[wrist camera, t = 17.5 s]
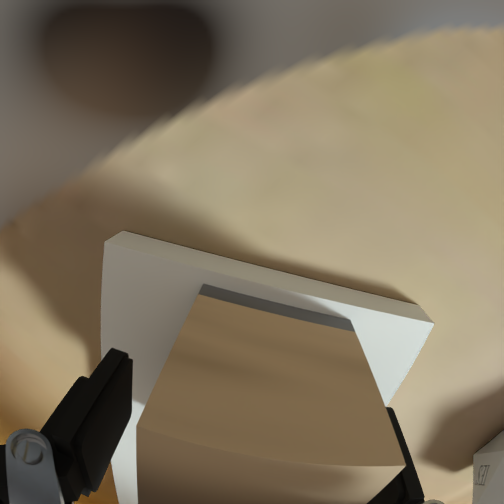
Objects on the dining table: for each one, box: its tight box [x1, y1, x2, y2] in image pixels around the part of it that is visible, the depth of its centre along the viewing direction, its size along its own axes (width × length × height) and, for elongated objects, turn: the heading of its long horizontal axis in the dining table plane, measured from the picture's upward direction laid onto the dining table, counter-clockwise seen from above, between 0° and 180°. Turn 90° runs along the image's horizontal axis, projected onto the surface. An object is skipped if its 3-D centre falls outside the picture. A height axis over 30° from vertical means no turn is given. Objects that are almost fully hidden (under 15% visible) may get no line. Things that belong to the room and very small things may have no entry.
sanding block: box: [136, 283, 406, 504], centre depth 8 cm, size 7×5×6 cm
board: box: [101, 231, 434, 504], centre depth 14 cm, size 22×12×2 cm, turn 166°
